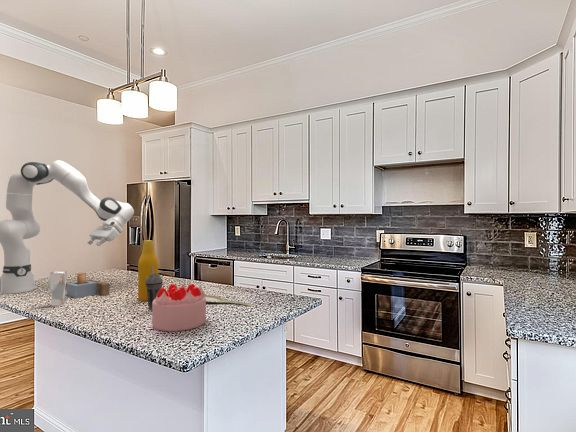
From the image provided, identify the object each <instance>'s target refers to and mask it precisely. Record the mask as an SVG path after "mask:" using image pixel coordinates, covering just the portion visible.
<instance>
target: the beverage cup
mask: <svg viewBox="0 0 576 432" xmlns="http://www.w3.org/2000/svg"><path fill="white" fill-rule="evenodd" d="M152 273H153V274H151V275H149V276H148V277H147V279H146V283H145V284H146V288H147V296H148V301H147V305H148V310H150V311H152V302H153V300H154V299H155V298H156V297H157V293H158V291H159V290H160V289H161V288H162V287H163V283H164V282H163V278H162V275H160V274H159V273H158V274H154V270H153V264H152Z"/></svg>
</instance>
